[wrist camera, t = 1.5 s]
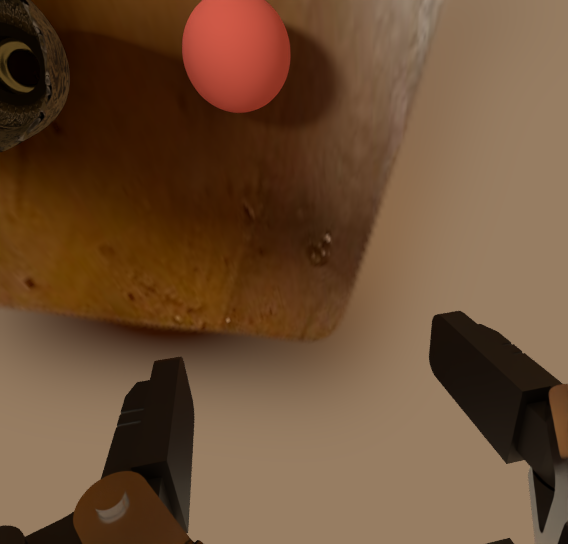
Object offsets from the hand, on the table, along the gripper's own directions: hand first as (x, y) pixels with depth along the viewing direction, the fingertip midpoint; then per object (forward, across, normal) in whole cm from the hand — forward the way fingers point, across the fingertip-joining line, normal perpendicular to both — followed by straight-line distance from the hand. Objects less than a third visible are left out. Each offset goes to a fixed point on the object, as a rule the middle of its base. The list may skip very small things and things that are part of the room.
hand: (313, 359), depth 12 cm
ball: (+13, 0, -9) cm, 16 cm away
